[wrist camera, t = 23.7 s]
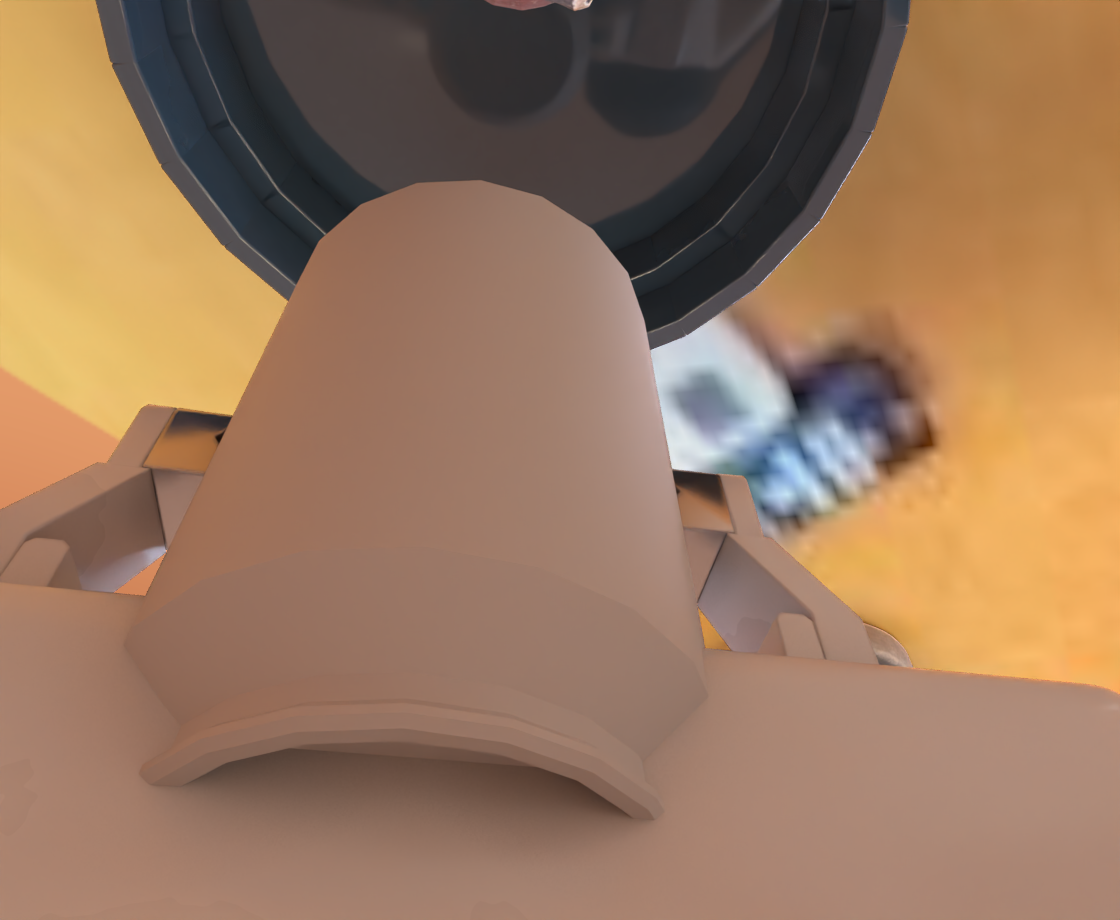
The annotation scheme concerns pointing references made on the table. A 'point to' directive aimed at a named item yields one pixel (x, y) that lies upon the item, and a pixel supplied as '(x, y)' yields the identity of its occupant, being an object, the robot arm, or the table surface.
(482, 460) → the can
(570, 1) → the figurine
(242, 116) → the bowl
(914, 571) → the table surface
